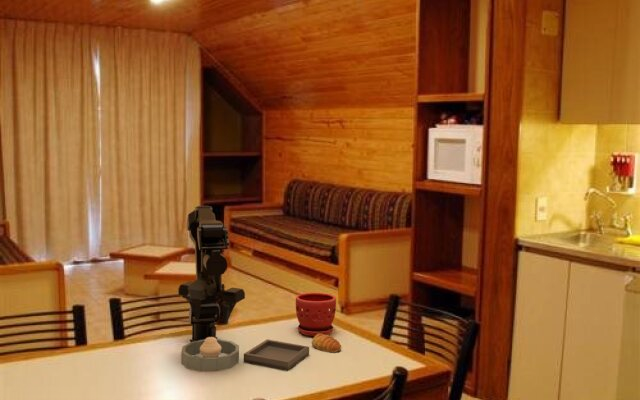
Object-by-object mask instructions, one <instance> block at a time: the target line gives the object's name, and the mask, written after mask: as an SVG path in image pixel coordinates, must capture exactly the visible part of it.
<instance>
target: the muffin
mask: <svg viewBox="0 0 640 400" xmlns="http://www.w3.org/2000/svg"><path fill="white" fill-rule="evenodd" d="M221 349H222V348H221V346H220V345H219V344H218V342H217V339H216V338H214V337H208V338H206V339H205V340H204V343H203V344H202V345H201V346H200V352H201V353H200V355H201V356H202V358H205V357H220V354H221V353H222V352H221Z"/></svg>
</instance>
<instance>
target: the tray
mask: <svg viewBox="0 0 640 400" xmlns="http://www.w3.org/2000/svg"><path fill="white" fill-rule="evenodd" d="M308 356H310V346H306V345H300V344H296V343H291V342H290V343H289V342H284V341H279V340H273V339H272V340H271V339H269V338H268V339H265V340H263V341H262V342H260V343H259V344H257V345H256V346H254V347H252V348H250V349H249V350H248V351H246V352H244V353H243V363H244V364H250V365H255V366H260V367H265V368H271V369H275V370H279V371H280V370H281V371H285V370H286V371H285V372H288V370H289V371H290V370H291V369H293V368H294V367H295V366H297V365H298V364H299V363H300V362H302V361H303V360H304V359H306V358H307V357H308ZM296 364H297V365H296ZM292 367H293V368H292Z"/></svg>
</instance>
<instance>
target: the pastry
mask: <svg viewBox="0 0 640 400" xmlns="http://www.w3.org/2000/svg"><path fill="white" fill-rule="evenodd" d="M311 345H312V346H313V348H314V349H317V350H319V351H322V352H326V353H337V352H339V351H341V349H342V345H341V343H340V342H339V340H337V339H336V338H334V337H333V336H332V335H329V334H327V335H324V334H321V333H320V334H317V335H316V336H313V339H312V340H311Z"/></svg>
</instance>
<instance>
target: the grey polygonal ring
mask: <svg viewBox="0 0 640 400" xmlns="http://www.w3.org/2000/svg"><path fill="white" fill-rule="evenodd" d="M204 340H205V339H204ZM204 340H199V341H193V342H188V343H187V344H184V345H182V347H181V352H180V358H181V359H180V360H181V361H180V364H181V365H182V366H183V367H185V368H187V369H188V370H192V371H193V370H194V371H197V372H198V371H199V372H219V371H223V370H229V369H232V368H233V367H235V366H236V365H238V364H239V362H240V345H239V344H237V343H236V342H234V341H233V340H232V341H231V340H226V339H221V338H218V339H217V342H218V344H219V345H220V346H221V348H222V349H221V352H220V353H224V354H226V355H221V356H220V355H219V356H218V357H205V358H203V357H201V356H196V355H197V354H201V352H200V346H201V345H202V344H203V343H204Z"/></svg>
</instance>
